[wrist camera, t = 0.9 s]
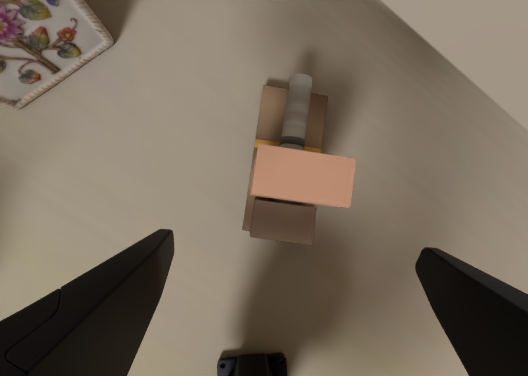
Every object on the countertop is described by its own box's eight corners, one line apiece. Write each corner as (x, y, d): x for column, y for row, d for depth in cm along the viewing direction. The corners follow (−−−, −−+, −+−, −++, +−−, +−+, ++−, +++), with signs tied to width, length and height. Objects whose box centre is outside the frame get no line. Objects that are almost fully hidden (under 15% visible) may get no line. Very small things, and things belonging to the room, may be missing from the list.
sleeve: (312, 204, 24) (350, 208, 15) (249, 195, 23) (251, 193, 15) (317, 172, 24) (356, 158, 15) (254, 163, 23) (258, 143, 15)
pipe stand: (306, 237, 25) (320, 246, 20) (242, 228, 25) (241, 235, 20) (324, 100, 26) (341, 78, 21) (262, 90, 26) (266, 65, 21)
